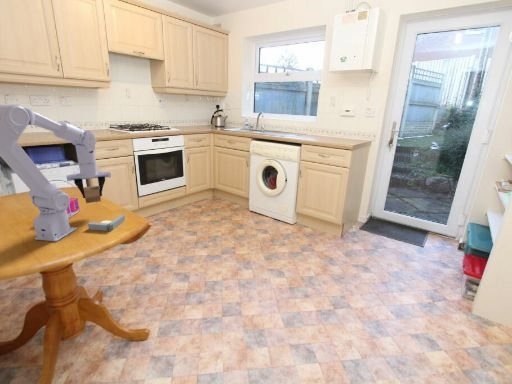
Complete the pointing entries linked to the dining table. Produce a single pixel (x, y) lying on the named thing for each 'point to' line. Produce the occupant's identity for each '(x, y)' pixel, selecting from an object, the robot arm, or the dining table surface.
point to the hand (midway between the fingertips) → (92, 196)
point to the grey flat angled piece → (106, 224)
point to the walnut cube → (92, 194)
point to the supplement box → (72, 207)
